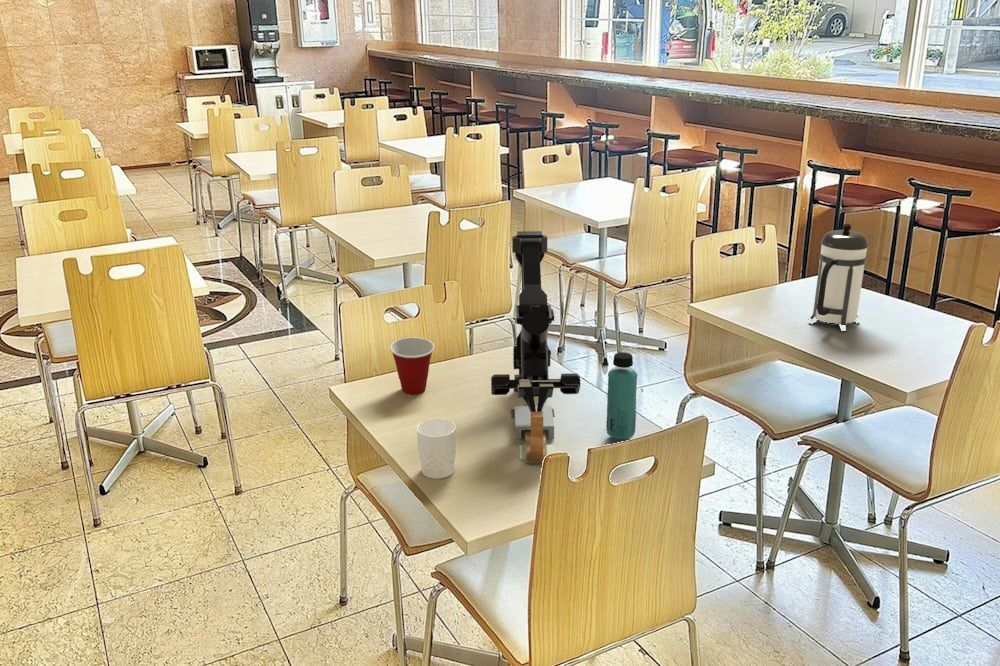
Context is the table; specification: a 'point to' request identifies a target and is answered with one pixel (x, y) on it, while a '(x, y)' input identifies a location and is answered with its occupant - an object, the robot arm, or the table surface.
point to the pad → (523, 451)
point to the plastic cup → (412, 362)
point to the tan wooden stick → (535, 439)
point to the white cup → (437, 447)
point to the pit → (514, 413)
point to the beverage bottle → (621, 397)
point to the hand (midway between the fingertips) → (536, 422)
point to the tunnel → (525, 420)
